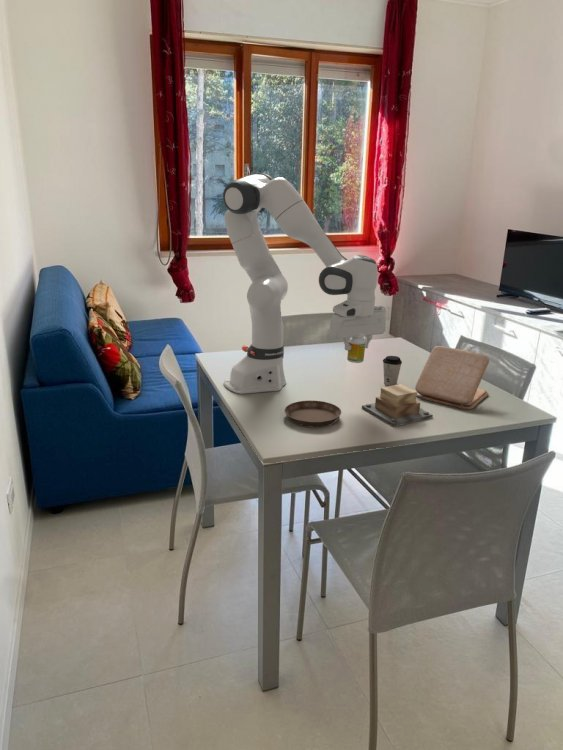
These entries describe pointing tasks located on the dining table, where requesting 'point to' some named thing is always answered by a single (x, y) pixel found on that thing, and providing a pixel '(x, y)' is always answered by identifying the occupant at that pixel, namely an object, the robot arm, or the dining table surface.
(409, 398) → the tower
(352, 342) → the supplement bottle
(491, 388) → the dining table surface
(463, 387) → the case
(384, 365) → the coffee cup
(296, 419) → the plant saucer
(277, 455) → the dining table surface
